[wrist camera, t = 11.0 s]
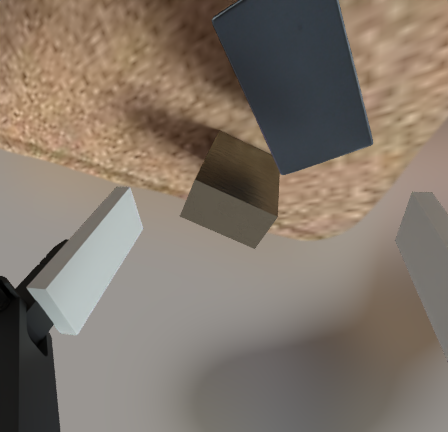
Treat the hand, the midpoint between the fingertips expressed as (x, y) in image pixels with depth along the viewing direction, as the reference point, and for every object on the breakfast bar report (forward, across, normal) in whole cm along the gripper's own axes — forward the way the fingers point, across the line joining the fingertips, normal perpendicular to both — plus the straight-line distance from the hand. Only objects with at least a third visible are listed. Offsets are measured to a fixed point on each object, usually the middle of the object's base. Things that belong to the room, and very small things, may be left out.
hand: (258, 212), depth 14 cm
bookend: (+17, -3, -6) cm, 18 cm away
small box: (+17, +2, +4) cm, 18 cm away
